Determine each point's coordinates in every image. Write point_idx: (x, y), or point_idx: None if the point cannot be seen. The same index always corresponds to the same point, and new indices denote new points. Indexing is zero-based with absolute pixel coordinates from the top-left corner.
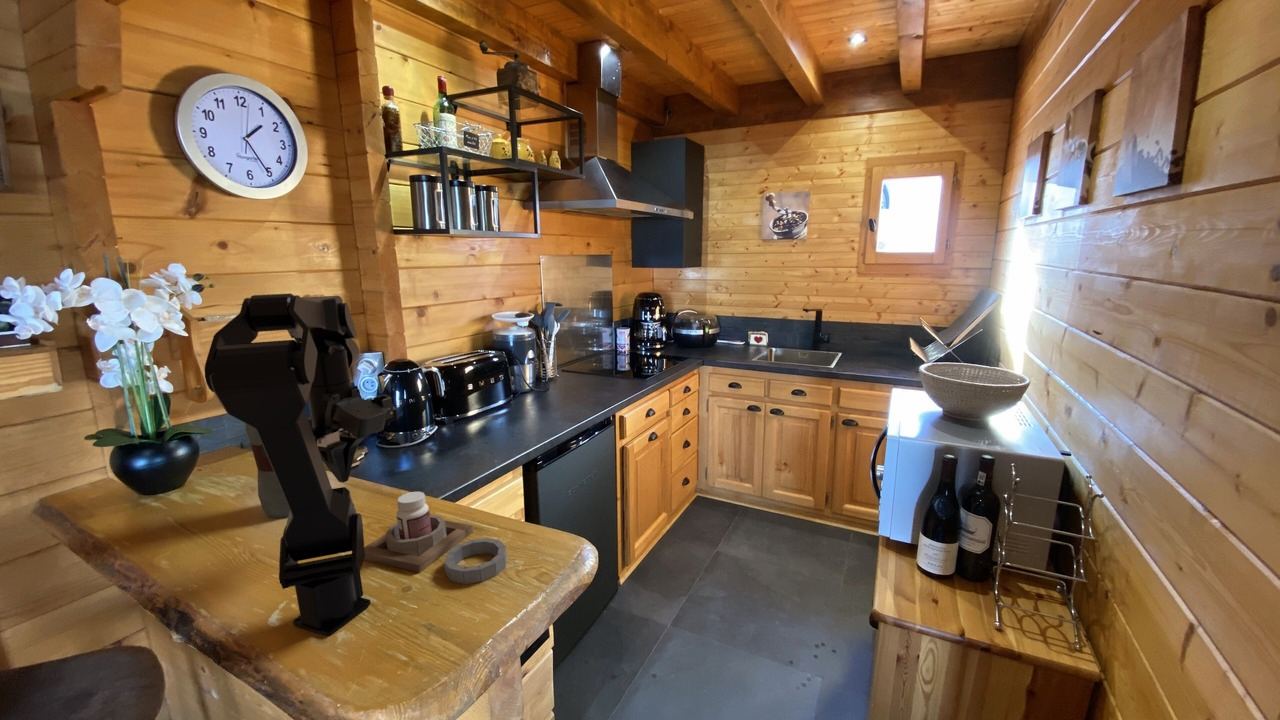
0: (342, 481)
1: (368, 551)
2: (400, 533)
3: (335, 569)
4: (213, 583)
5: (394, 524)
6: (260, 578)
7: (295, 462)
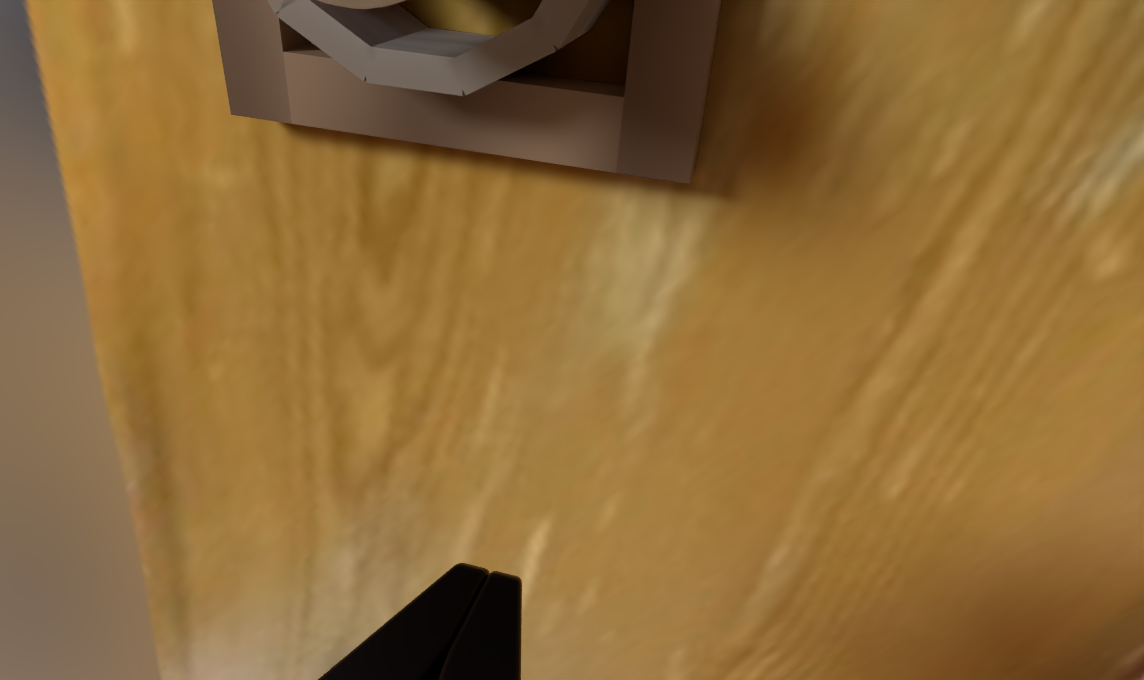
0: (521, 597)
1: (679, 107)
2: None
3: None
4: (968, 669)
5: (425, 86)
6: (925, 528)
7: None
